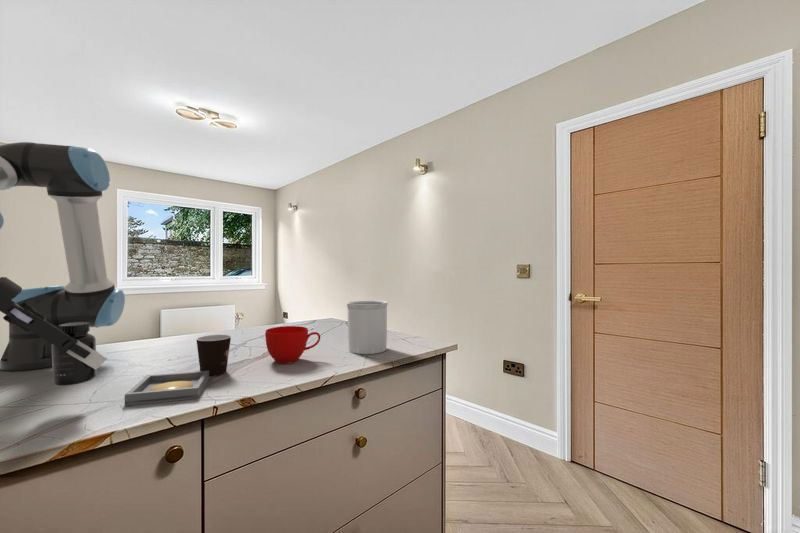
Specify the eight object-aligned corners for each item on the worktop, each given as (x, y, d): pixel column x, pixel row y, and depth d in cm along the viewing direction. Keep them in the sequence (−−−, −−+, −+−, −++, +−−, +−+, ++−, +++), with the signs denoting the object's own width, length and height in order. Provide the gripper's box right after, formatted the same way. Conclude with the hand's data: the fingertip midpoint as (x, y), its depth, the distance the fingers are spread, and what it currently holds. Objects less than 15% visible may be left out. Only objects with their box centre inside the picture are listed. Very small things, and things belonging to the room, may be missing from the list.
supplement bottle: (71, 375, 77) (70, 320, 77) (104, 375, 78) (104, 320, 78) (42, 386, 70) (41, 326, 70) (78, 386, 71) (78, 326, 71)
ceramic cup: (320, 364, 109) (320, 332, 109) (262, 367, 105) (262, 334, 105) (319, 354, 122) (320, 325, 122) (268, 356, 118) (268, 326, 118)
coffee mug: (216, 379, 94) (216, 341, 94) (188, 376, 96) (188, 340, 96) (243, 366, 106) (244, 333, 106) (218, 365, 108) (218, 332, 108)
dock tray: (146, 384, 89) (147, 375, 89) (209, 379, 94) (209, 370, 94) (124, 405, 76) (124, 394, 76) (198, 398, 81) (198, 387, 81)
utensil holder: (340, 353, 123) (341, 303, 123) (353, 344, 137) (353, 299, 137) (382, 356, 120) (382, 304, 120) (390, 346, 135) (391, 300, 135)
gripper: (-44, 300, 68) (71, 366, 81) (-44, 311, 56) (91, 386, 69) (-2, 272, 72) (101, 339, 85) (6, 277, 60) (125, 354, 73)
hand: (96, 360), depth 77 cm, fingers closed on supplement bottle, 7 cm apart
